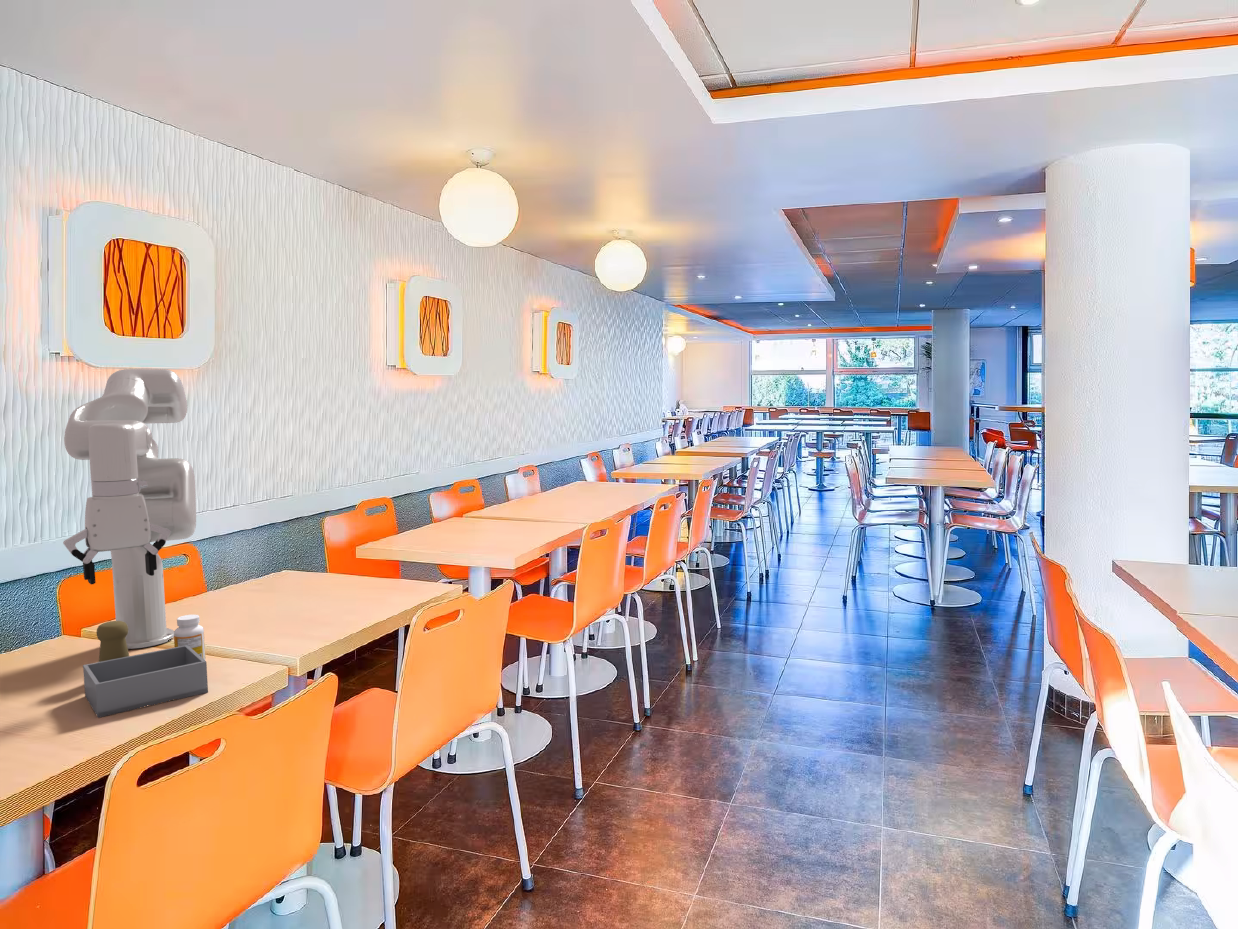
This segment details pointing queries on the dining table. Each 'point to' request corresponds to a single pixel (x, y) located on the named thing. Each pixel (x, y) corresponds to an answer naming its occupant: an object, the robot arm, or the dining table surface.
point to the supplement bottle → (190, 634)
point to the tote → (144, 680)
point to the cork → (112, 640)
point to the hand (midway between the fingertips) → (121, 578)
